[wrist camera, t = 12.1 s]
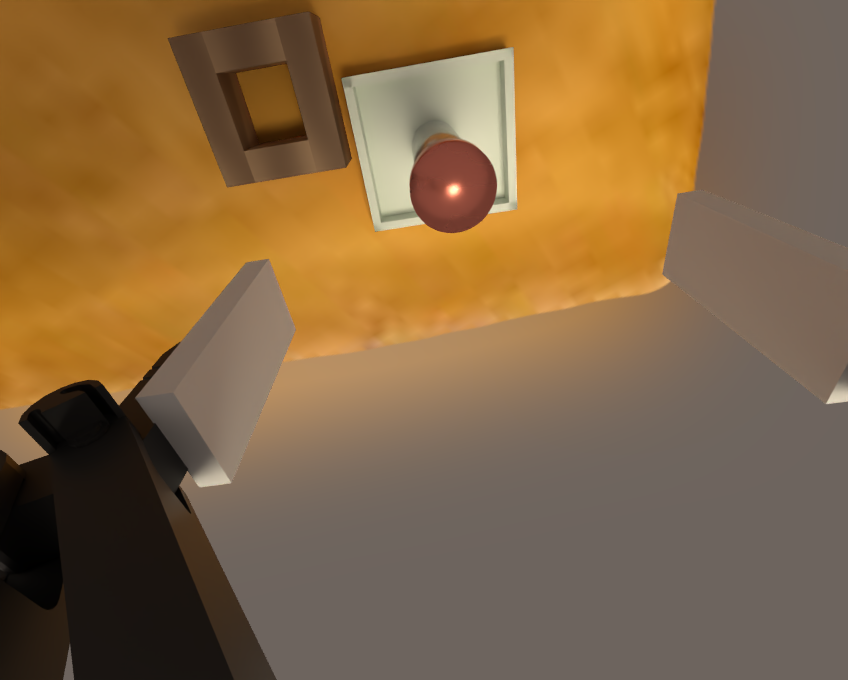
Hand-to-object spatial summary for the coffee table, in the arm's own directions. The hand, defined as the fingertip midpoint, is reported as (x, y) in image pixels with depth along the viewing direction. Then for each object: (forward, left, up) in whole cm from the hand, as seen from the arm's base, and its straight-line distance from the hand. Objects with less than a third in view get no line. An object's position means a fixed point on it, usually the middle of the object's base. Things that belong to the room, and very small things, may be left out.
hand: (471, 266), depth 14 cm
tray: (0, 0, -27) cm, 27 cm away
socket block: (-12, +5, -27) cm, 30 cm away
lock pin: (0, 0, -26) cm, 26 cm away
